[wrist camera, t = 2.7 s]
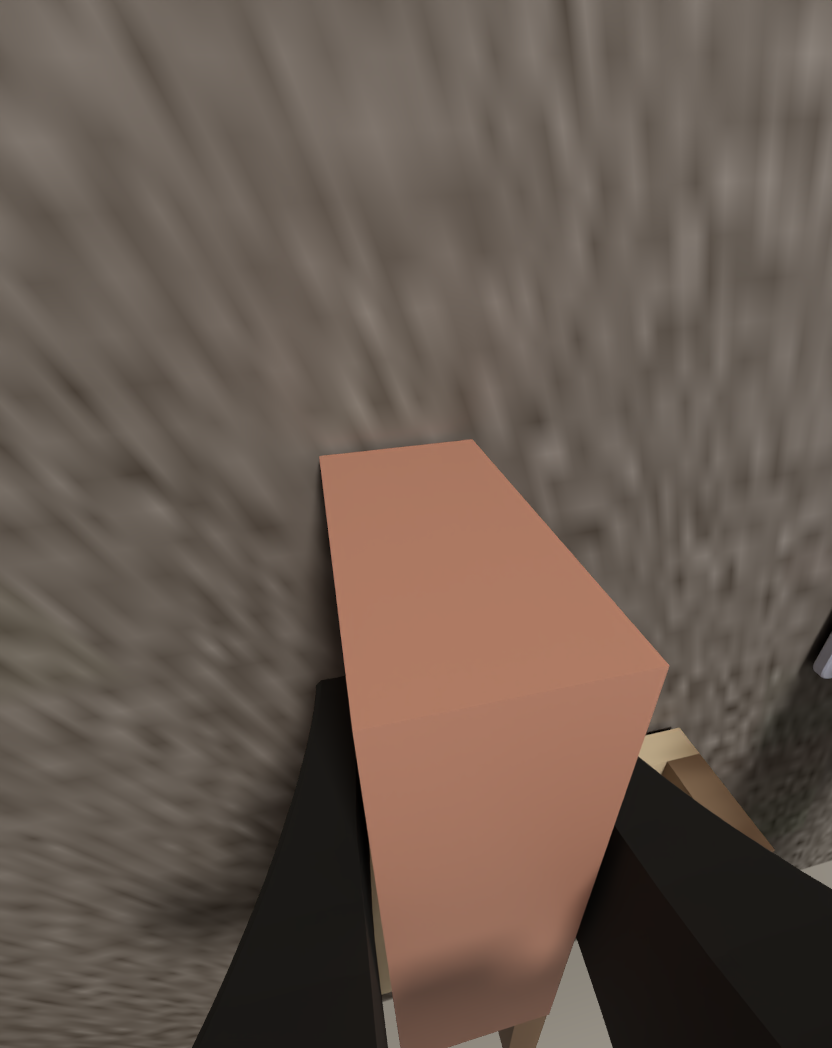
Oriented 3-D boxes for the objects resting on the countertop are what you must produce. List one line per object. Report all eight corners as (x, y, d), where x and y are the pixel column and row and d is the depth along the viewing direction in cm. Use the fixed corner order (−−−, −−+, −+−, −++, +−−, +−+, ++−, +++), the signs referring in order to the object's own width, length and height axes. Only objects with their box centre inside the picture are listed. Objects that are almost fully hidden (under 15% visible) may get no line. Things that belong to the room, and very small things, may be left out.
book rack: (679, 727, 17) (774, 850, 14) (611, 897, 24) (664, 1007, 20) (306, 814, 15) (310, 984, 11) (348, 973, 22) (359, 1110, 18)
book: (472, 439, 10) (669, 665, 5) (461, 749, 15) (548, 1014, 10) (319, 456, 9) (353, 731, 4) (364, 770, 14) (402, 1062, 9)
